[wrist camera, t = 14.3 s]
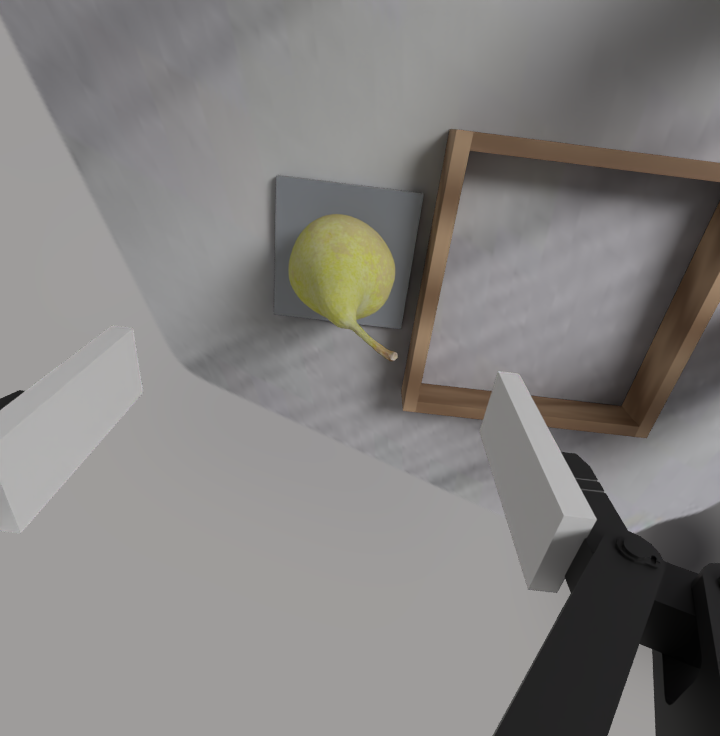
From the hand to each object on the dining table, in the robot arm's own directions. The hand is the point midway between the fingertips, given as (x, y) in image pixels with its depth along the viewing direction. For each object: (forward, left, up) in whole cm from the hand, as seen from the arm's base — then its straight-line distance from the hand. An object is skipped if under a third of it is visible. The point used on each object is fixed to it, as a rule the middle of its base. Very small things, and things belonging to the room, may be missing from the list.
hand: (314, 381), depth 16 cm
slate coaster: (0, 0, -19) cm, 19 cm away
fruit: (0, 0, -18) cm, 18 cm away
